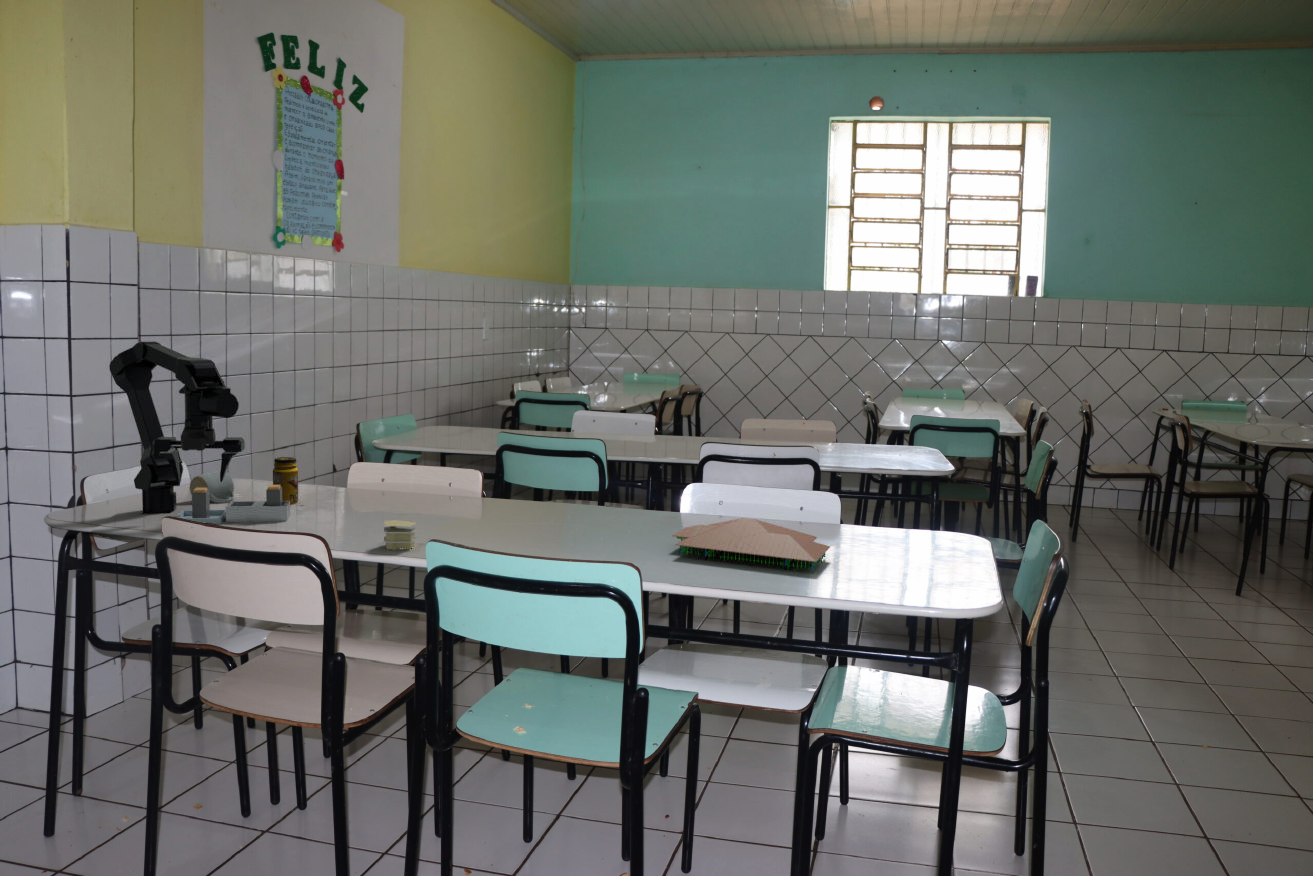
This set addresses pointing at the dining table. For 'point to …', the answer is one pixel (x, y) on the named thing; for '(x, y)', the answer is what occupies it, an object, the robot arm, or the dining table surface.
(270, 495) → the twin plug
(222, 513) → the tray
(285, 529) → the dining table surface
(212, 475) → the ceramic mug
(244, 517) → the grey socket block
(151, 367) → the robot arm
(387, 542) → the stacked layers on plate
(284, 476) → the condiment
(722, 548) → the house
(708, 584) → the dining table surface
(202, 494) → the plug
